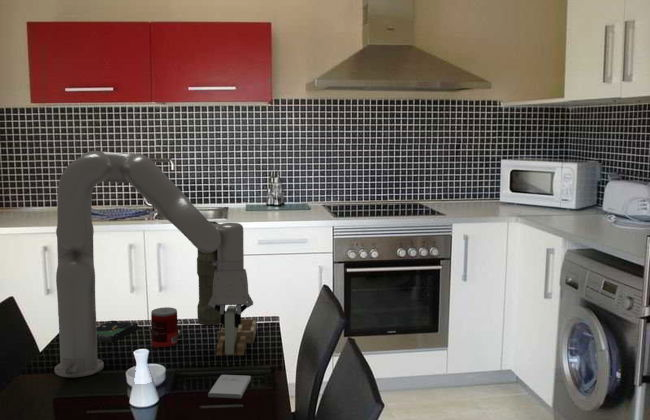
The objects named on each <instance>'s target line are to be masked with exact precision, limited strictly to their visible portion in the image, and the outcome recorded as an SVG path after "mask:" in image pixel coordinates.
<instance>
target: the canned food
mask: <svg viewBox="0 0 650 420" xmlns="http://www.w3.org/2000/svg"><path fill="white" fill-rule="evenodd" d="M150 312H151V313H150V314H151V316H150V318H151V319H150V320H151V321H150V322H151V323H150V324H151V345H152V348H153V349H157V347H159V348H167V347H172V346H175V345H176V344H178V342H179V340H178V310H177V309H176V308H175V307H169V306H168V307H167V306H166V307H158V308H154V309H153V310H151V311H150Z"/></svg>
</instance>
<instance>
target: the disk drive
mask: <svg viewBox="0 0 650 420" xmlns="http://www.w3.org/2000/svg"><path fill="white" fill-rule="evenodd" d="M138 327H139V325H138V322H128V321H121V322H118V321H117V320H109V321H107V322H105V323H103V324H101V325H98V326H96V329H97V342H99V343H108V344H109V343H110V344H112V343H114V342H116V341H118V340H120V339H122V338H124V337H126V336H128V335H130V334H132V333H134V332H136V331H138V330H139V328H138Z"/></svg>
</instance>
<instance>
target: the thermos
mask: <svg viewBox="0 0 650 420" xmlns="http://www.w3.org/2000/svg"><path fill="white" fill-rule="evenodd" d="M209 222H210V223H213V224H220V223H218V222H217V221H209ZM217 260H218V249H217V250H216V251H214V252H212V253H203V252H201V251H199V250H198V249H197V257H196V274H197V276H198V303H197V305H196V306H197V310H196V311H197V319H198V324H199V325H203V326H217V325H222V324H221V314H220V313H219V312H218V311H217V310H216V309H215V308H214V307H212V306H210V305H208V303H209V301H210V299H211V297H212V296H213V280H214V273H215V270H216V269H217V266H213V261H217Z"/></svg>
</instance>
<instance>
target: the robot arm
mask: <svg viewBox="0 0 650 420" xmlns="http://www.w3.org/2000/svg"><path fill="white" fill-rule="evenodd" d="M103 182H107V183H118V184H123V183H124V184H130V185H131V186H132V187H133V188H134V189H135V190H136V191H137V192H138V193H139V194H140V195H141V196H142V197H143V198H144V199H145V200H146V201H147V202H148V203H149V204H150V205H151V206H152V207H153V208H154V209H155V210H156V211H157V212H158V213H159V214H160V215H161V216H162V217H163V218H164V219H166V220H167V221H168V222H169V223H171V224H172V225H173V226H174V227H175V228H176V229H177V230H178V231H179V232H180V233H182V235H184V237H186V238H187V240H188V241H189V242H190V243H191V244H192V245H193V246H194V247H195V248H196V249H197V251H198V250H199V251H201V252H203V253H212V252H214V251H216V250H217V249H218V260H217V261H213V266H217V269H216V270H215V273H214V280H213V296H212V297H211V299H210V301H209V303H208V305H210V306H212V307H214V308H215V309H216V310H217V311H218V312H219V313H220V314H221V324H220V325H222V324H223V328H225V312H226V306H236V307H237V312H236V315H235V327H236V328H238V326H239V324H241V319H242V313H243V312H244V311H245V310H246V309H249V308H250V307H251V306H253V305H254V301H253V299H252V297H251V296H250V293H249V281H248V276H247V275H248V273H247V269H245V268H244V265H245V263H244V262H245V261H244V260H245V259H244V226H243V225H242V224H241V223H237V222H223V223H219V224H213V223H210V222H211V221H209V220H208V219H207V218H206V217H205V216H204V214H202V212H200V210H198V209H197V207H196V206H195V205H194V204H193V203H192V202H191V200H190V199H189V198H188V197H187V196H186V194H185V193H183V192H182V190H181V189H180V188H179V187H178V186H177V185H176V184H175V183H174V182H173V181H172V180H171V179H170V178H169V177H168V176H167V175H166V173H165V172H163V171H162V170H161V168H160V167H158V165H156V163H154V161H153V160H152V159H151V158H149V157H148V156H146V155H143V154H140V153H123V152H122V153H121V152H113V151H112V152H111V151H101V150H89V151H87V152H85V153H84V154H83V155H82V156H80V157H77V158H76V159H75V160H73V161H72V162H71V163H69V164H68V165H67V166H66V168H65V169H64V171H63V172H62V174H61V176H60V179H59V181H58V186H57V207H56V209H57V212H56V213H57V216H56V217H57V225H56V229H55V233H56V241H57V242H56V244H57V245H56V246H57V250H56V251H57V268H56V274H55V275H56V277H55V281H56V283H55V284H56V294H57V312H58V313H57V314H58V315H57V316H58V332H59V333H58V334H59V336H58V337H59V360H60V363H58V364H57V365H56V366H55V367H54V373H55V375H57V376H59V377H61V378H70V379H71V378H83V377H88V376H92V375H94V374H97V373H99V372H101V371H102V370H103V369H104V367H105V366H104V365H105V364H104V361H103V360H102V359H99V358H98V341H97V329H96V327H97V310H96V306H97V305H96V270H95V261H94V257H95V256H94V231H95V230H94V225H93V219H92V218H93V217H92V215H93V213H92V204H93V203H92V201H93V199H92V198H93V195H92V194H93V191H94V188H96V186H97V185H98V184H100V183H103Z"/></svg>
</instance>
